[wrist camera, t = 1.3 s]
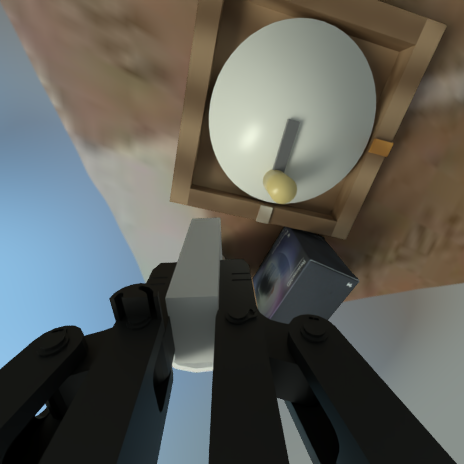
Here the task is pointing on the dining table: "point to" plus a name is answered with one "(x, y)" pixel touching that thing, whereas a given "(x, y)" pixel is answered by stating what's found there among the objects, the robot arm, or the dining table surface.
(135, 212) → the dining table surface
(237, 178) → the dial
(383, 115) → the housing
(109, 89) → the dining table surface
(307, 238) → the small box
